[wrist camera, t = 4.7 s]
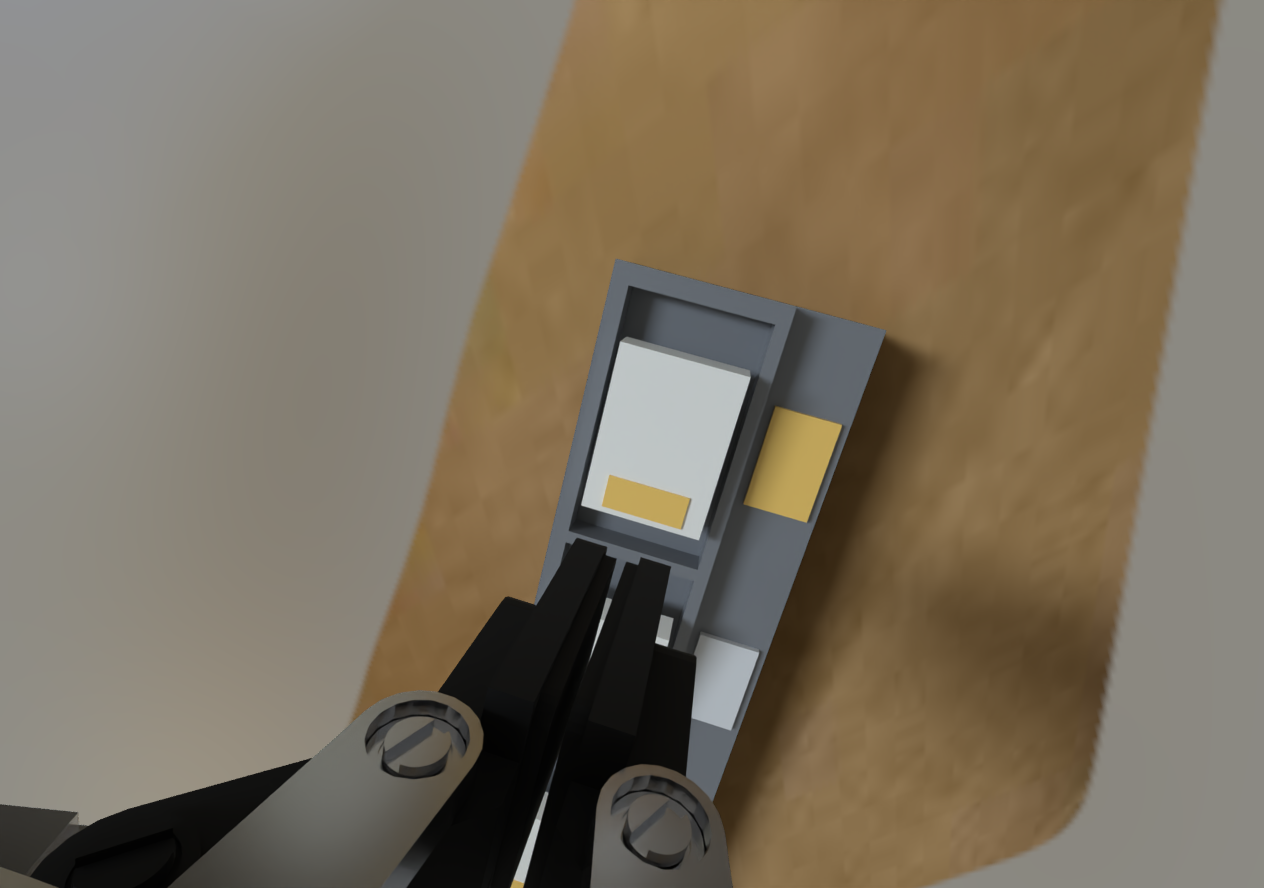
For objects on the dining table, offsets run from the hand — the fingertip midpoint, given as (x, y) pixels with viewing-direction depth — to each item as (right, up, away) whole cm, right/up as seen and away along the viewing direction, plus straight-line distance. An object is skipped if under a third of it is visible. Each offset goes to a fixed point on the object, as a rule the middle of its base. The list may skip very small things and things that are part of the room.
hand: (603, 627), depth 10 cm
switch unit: (+1, -3, +14) cm, 14 cm away
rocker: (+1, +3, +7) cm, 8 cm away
